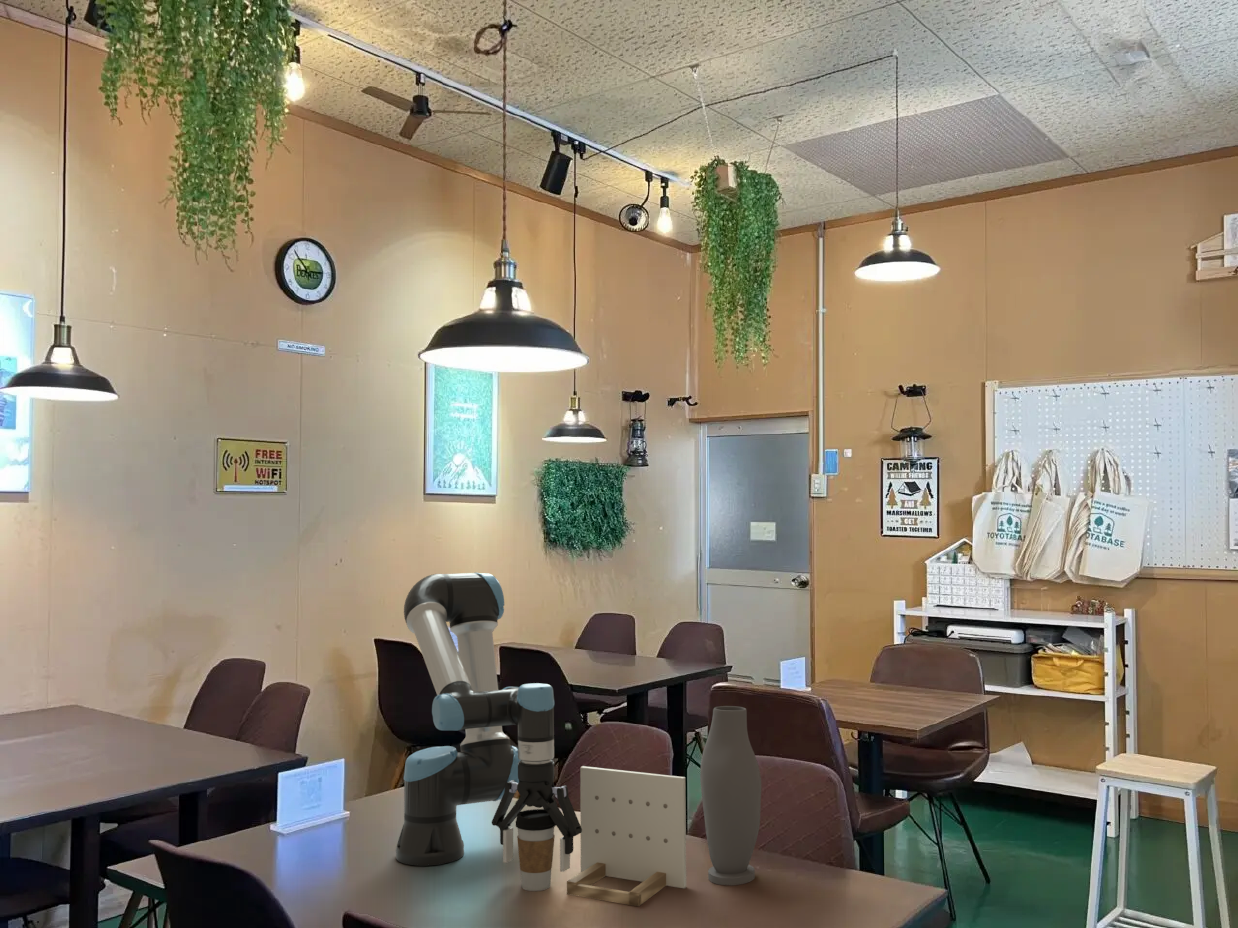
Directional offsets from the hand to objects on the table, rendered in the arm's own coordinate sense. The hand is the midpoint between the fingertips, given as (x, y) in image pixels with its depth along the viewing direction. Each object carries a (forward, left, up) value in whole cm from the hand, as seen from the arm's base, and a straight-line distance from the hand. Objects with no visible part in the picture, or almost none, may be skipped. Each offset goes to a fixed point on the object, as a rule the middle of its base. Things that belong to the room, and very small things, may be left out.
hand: (536, 865), depth 210 cm
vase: (+34, +23, -4) cm, 41 cm away
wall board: (+16, +13, -4) cm, 21 cm away
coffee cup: (0, 0, -4) cm, 4 cm away
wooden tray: (+16, +5, -4) cm, 17 cm away
